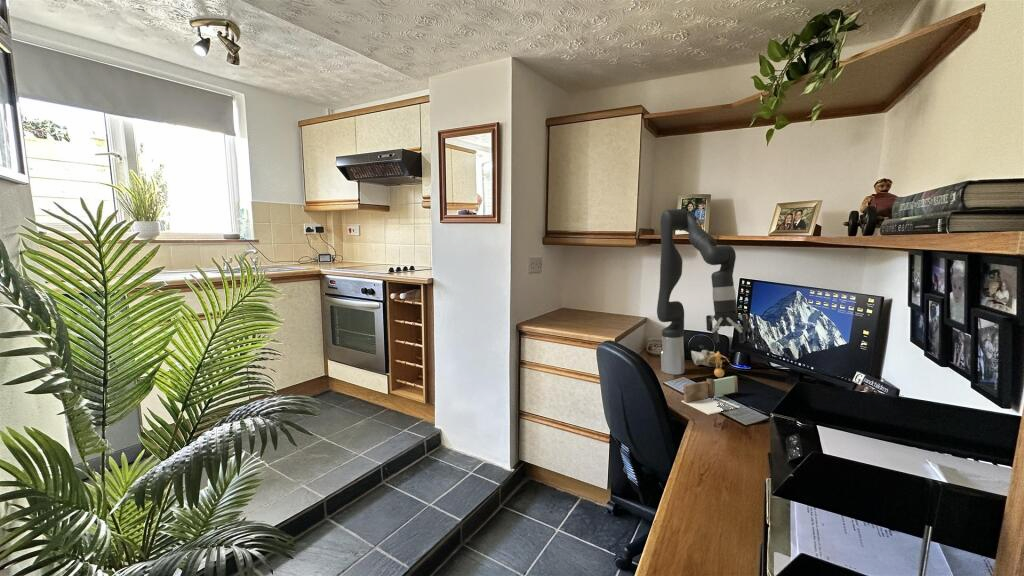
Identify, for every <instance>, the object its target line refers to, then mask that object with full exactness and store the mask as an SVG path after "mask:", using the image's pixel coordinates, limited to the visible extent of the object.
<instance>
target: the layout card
mask: <svg viewBox="0 0 1024 576" xmlns="http://www.w3.org/2000/svg"><path fill="white" fill-rule="evenodd" d="M703 400H704V399H703ZM703 400H698V401H693V402H688V403H686V402H684V399H682V400H681V403H683V404H685V405H687V406H690V407H691V408H693V409H696V410H698V411H700V412H702V413H703V414H706V415H708V416H709V415H713V414H715V415H716V414H719V413H722V412H721V411H723V409H722V408H720V407H717V406H718V405H719V404H717V403H718V402H720V405H721V404H722V405H723V404H725V405H726V406H729V407H731V408H732V409H733V408H738V409H741V407H740V406H739V405H737V404H734V403H731V402H729V401H726V400H724V399H721V398H720V400H718V399H716V398H715V399H713V400H711V399H710V400H711V402H710V401H708V400H707V401H703ZM715 400H716V401H715ZM717 401H718V402H717ZM725 402H726V403H725ZM722 405H721V406H722ZM723 406H724V405H723ZM731 408H730V409H731ZM733 410H734V409H733Z"/></svg>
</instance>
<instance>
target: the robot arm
mask: <svg viewBox="0 0 1024 576" xmlns="http://www.w3.org/2000/svg"><path fill="white" fill-rule="evenodd" d="M675 231H685V232H687V233H688V241H689V243H690V244H691V245H692V246H693V247H694V248H695V249H696V250H698V252H699V253H700V255H701V257H702V259H703V261H704V262H705V263H706V264H708V265H710V266H718V265H720V268H719V270H717V271H714V272H712V273H711V276H710V277H711V284H712V285H711V286H712V301H713V310H714V315H712V314H708V315H706V318H705V319H706V320H705V321H706V324H705V325H706V331H707V332H711V333H712V338H713V339H712V340H713V342H714V343H715V344H717V343H720V334H719V330H720V328H721V327H734V329H735V330H736V331H738V339H739V344H744V343H745V341H746V332H747V331H750V330H751V325H750V320H749V315H748V314H747V313H743V314H739V312H738V303H737V297H736V295H737V293H736V289H735V285H734V277H733V274H734V271H735V270H734V269H735V264H736V257H737V255H736V251H735V248H734V247H733V246H731V245H724V244H723V245H718V243H717V240H716V239H715V238H714V237H713V236H712V235H710V234H709V233H708V232H706V231H705V229H703V228H702V227H701V226H700V225H699V223H698V222H697V221H696V220H695V218H694V217H693V216H692V215H691V213H689V211H688V210H686V209H683V208H675V209H673V208H672V209H665V210H663V211H662V213H661V215H660V239H661V241H660V242H661V243H660V244H661V245H660V246H661V247H660V263H659V264H660V267H659V269H660V270H659V288H658V290H659V292H658V299H657V306H656V315H657V319H658V321H660V322H661V323H670V324H669V325H668V326H667V327H664V328H663V329H662V330H661V344H662V345H661V347H662V350H661V351H660V364H661V365H660V367H661V369H660V370H661V372H662V373H665V374H667V375H677V376H678V375H683V374H685V373H686V372H685V369H686V368H685V349H684V348H685V347H684V346H685V345H684V331H685V309H684V306H683V303H682V302H681V301H679V300H676V301H674V300H673V301H670V300H671V299H670V297H671V295H672V292H673V290H674V289H675V287H676V285H677V284H678V283H679V281H680V279H681V277H682V274H683V258H682V255H681V254H680V251H678V248H677V247H676V245H675V242H674V235H673V234H674V232H675ZM739 319H740V320H741V321H742V324H743V325H741V323H740V322H739V321H738V320H739ZM714 320H715V321H716V323H715V324H714V325H713V321H714Z"/></svg>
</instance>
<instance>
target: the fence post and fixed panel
mask: <svg viewBox="0 0 1024 576" xmlns="http://www.w3.org/2000/svg"><path fill="white" fill-rule="evenodd" d="M714 380H715V379H713V378H706V381H700V382H694V383H689V384H684V385H683V400H684V402H686V403H688V402H693V401H698V400H703V399H708V398H711V399H712V398H714Z"/></svg>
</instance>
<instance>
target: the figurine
mask: <svg viewBox="0 0 1024 576" xmlns="http://www.w3.org/2000/svg"><path fill="white" fill-rule="evenodd" d="M715 353H716V354H715V355H712V356H710V358H711V357H714V356H715V357H716V359H717V360H716V359H715V363H716V367H715V368H714V371H713V373H714V375H715V377H717V378H724V375H725V370H724V369H722V367H721V366H722V365H723V362H722V360H723V359H722V358H724V359H725V360H726V361H727V362H728V363H730V361H729V359H728V357H726V356H724V355H722V354H721V352H720V351H719V350H718V351H716V352H715ZM710 358H709V359H710ZM709 359H708V361H709ZM720 359H721V360H720ZM718 362H719V363H720V367H717V366H718V365H717V363H718Z"/></svg>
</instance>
